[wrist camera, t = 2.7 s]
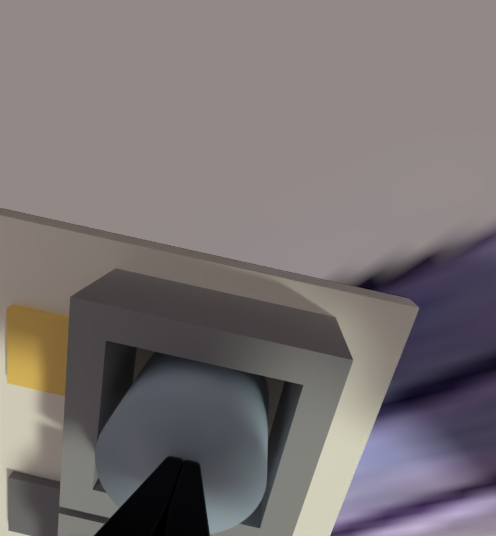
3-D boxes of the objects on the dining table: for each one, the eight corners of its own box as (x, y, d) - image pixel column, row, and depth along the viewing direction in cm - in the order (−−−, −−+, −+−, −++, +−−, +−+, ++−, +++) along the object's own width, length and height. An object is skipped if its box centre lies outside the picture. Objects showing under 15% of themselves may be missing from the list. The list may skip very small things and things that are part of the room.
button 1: (282, 352, 11) (285, 421, 8) (253, 459, 12) (246, 551, 9) (148, 322, 11) (101, 379, 8) (133, 431, 12) (89, 514, 9)
